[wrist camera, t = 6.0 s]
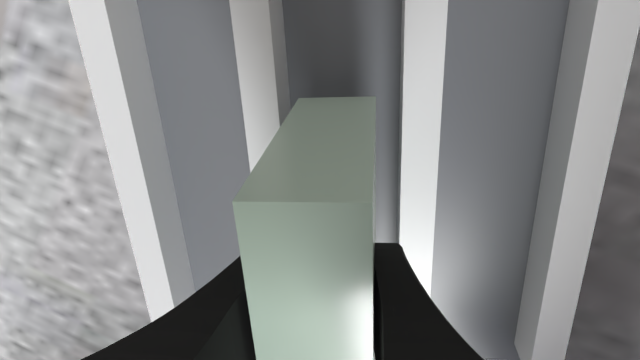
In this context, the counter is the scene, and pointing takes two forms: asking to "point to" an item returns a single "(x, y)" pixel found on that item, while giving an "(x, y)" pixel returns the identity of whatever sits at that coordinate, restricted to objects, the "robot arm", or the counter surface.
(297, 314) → the mint green upright block
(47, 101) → the counter surface
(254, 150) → the rack
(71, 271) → the counter surface
